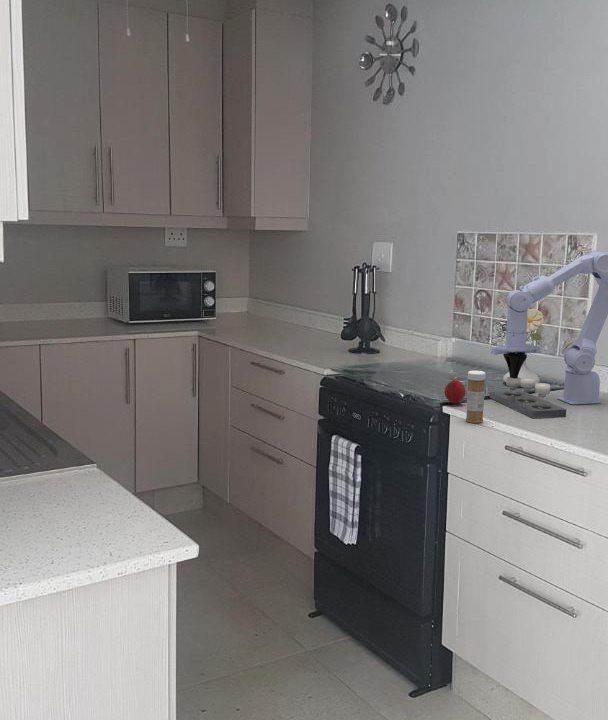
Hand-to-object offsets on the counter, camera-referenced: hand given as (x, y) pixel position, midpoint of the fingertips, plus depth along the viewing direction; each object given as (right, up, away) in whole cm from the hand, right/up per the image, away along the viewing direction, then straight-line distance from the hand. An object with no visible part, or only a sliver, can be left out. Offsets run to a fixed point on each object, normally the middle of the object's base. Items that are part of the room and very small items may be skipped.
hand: (513, 377), depth 244 cm
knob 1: (0, -3, +1) cm, 3 cm away
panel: (+2, -8, -6) cm, 10 cm away
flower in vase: (+9, -3, +23) cm, 25 cm away
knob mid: (+2, -3, -7) cm, 8 cm away
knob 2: (+4, -5, -15) cm, 16 cm away
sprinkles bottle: (-16, -11, -23) cm, 31 cm away
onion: (-18, -8, -4) cm, 20 cm away
